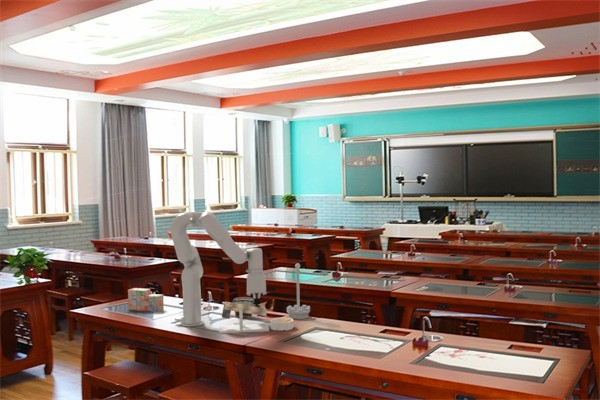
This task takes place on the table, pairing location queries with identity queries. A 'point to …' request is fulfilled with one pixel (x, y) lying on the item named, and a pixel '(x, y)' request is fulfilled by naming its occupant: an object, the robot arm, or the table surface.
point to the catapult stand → (243, 326)
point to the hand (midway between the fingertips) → (257, 305)
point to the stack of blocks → (144, 300)
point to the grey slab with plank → (246, 309)
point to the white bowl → (281, 324)
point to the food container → (243, 301)
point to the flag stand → (298, 303)
